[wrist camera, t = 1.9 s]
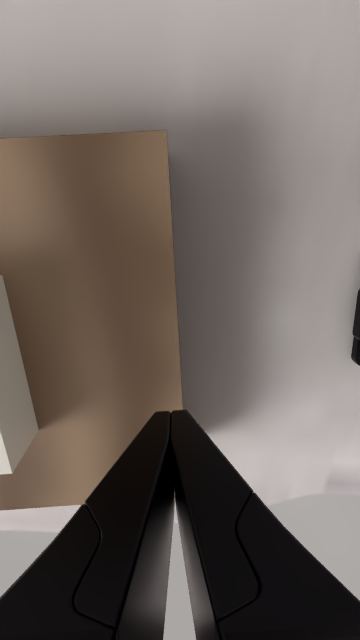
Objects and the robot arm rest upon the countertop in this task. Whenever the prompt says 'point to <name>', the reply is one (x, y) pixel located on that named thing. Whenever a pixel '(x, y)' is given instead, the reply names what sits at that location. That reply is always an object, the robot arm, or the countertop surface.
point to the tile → (13, 394)
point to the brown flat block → (88, 302)
